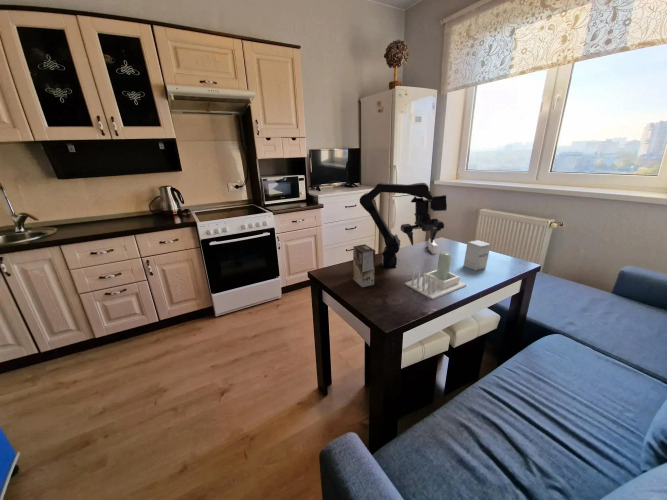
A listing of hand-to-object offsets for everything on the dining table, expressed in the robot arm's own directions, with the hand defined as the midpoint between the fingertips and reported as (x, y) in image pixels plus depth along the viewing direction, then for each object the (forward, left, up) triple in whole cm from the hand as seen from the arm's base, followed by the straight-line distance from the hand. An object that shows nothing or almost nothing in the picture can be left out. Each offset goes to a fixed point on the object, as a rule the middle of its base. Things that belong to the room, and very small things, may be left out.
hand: (421, 244), depth 128 cm
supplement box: (+28, +1, -13) cm, 31 cm away
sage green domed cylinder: (+5, -15, -12) cm, 20 cm away
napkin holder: (+16, +26, -14) cm, 34 cm away
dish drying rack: (+1, -17, -13) cm, 21 cm away
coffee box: (-29, -12, -13) cm, 34 cm away
